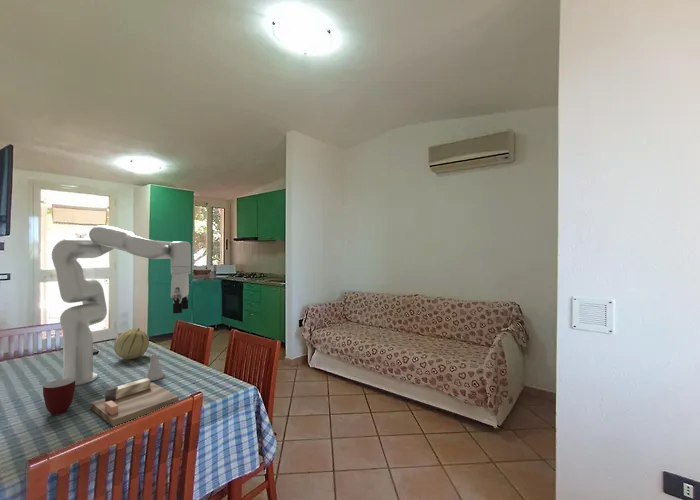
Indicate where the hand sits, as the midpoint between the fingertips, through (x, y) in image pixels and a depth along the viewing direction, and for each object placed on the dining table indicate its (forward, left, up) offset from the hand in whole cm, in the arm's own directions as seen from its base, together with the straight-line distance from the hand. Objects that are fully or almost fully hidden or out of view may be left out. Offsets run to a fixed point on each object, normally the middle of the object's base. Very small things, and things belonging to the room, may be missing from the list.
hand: (180, 310), depth 136 cm
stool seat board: (+10, -21, -29) cm, 37 cm away
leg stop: (+13, -29, -27) cm, 42 cm away
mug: (-6, -38, -29) cm, 48 cm away
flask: (-11, -6, -29) cm, 32 cm away
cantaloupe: (-48, -1, -29) cm, 56 cm away
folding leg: (+3, -21, -27) cm, 34 cm away
